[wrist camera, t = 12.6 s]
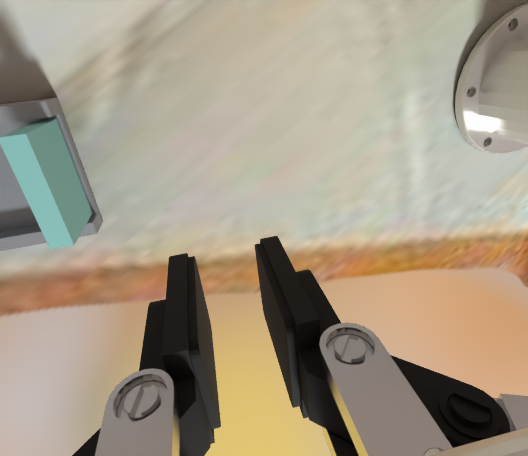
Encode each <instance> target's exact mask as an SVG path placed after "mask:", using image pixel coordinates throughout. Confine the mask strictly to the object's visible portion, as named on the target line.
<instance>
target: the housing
mask: <svg viewBox="0 0 528 456" xmlns="http://www.w3.org/2000/svg"><path fill="white" fill-rule="evenodd" d="M52 119H57V121H58V124H59V127H60V129H61V132H62V135H63V137H64V140H65V142H66V145H67V148H68V150H69V153H70V156H71V158H72V161H73V163H74V166H75V169H76V171H77V174H78V177H79V179H80V182H81V184H82V187H83V190H84V192H85V195H86V198H87V200H88V203H89V205H90V208H91V211H92V215H91V217H90V218H89V220H88V222H87V224H86V225H85V227H84V229H83V230H82V232H81V234H80V235H79V237H81V236H87V235H93V234H97V232H98V230H99V228H100V226H101V224H102V222H103V220H102V217H101V214H100V212H99V209H98V206H97V204H96V201H95V198H94V195H93V193H92V190H91V187H90V185H89V182H88V179H87V177H86V174H85V171H84V168H83V166H82V163H81V160H80V158H79V155H78V152H77V149H76V147H75V144H74V141H73V139H72V136H71V133H70V130H69V128H68V125H67V122H66V120H65V117H64V114H63V111H62V109H61V106H60V103H59V101H58V98H57V97H55V98H47V99H38V100H30V101H22V102H14V103H6V104H0V136H2V135H5V134H7V133H9V132H12V131H14V130H16V129H18V128H21V127H23V126H25V125H28V124H30V123H32V122H36V121H44V120H52ZM42 243H47V241H46V239H45V237H44V235H43V233H42V231H41V229H40V227H39V225H38V223H37V220H36V218H35V216H34V214H33V212H32V210H31V208H30V206H29V204H28V201H27V199H26V197H25V195H24V193H23V191H22V189H21V187H20V185H19V183H18V180H17V178H16V176H15V174H14V172H13V170H12V168H11V166H10V164H9V161H8V159H7V157H6V155H5V153H4V151H3V149H2V147H1V145H0V251H3V250H9V249H14V248H20V247H25V246H31V245H37V244H42Z"/></svg>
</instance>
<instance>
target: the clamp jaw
mask: <svg viewBox="0 0 528 456" xmlns="http://www.w3.org/2000/svg"><path fill="white" fill-rule="evenodd" d="M0 145H1V147H2V149H3V151H4V153H5V155H6V157H7V159H8V161H9V164H10V166H11V168H12V170H13V172H14V174H15V176H16V178H17V180H18V183H19V185H20V187H21V189H22V191H23V193H24V195H25V197H26V199H27V201H28V204H29V206H30V208H31V210H32V212H33V214H34V216H35V218H36V220H37V223H38V225H39V227H40V229H41V231H42V233H43V235H44V237H45V239H46V241H47V244H48V246H49V248H50V249H55V248H60V247H66V246H71V245H74V244H75V242H76V241H77V239H78V237H79V235H80V234H81V232H82V230H83V229H84V227H85V225H86V224H87V222H88V220H89V218H90V217H91V215H92V211H91V208H90V205H89V203H88V200H87V198H86V195H85V192H84V190H83V187H82V184H81V182H80V179H79V177H78V174H77V171H76V169H75V166H74V163H73V161H72V158H71V156H70V153H69V150H68V148H67V145H66V142H65V140H64V137H63V135H62V132H61V129H60V127H59V124H58V121H57V119H52V120H44V121H36V122H32V123H30V124H28V125H25V126H23V127H21V128H18V129H16V130H14V131H12V132H9V133H7V134H5V135H2V136H0Z"/></svg>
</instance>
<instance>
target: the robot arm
mask: <svg viewBox="0 0 528 456" xmlns="http://www.w3.org/2000/svg"><path fill="white" fill-rule="evenodd" d="M455 113H456V120H457V124H458V127H459V129H460V132H461V134H462V135H463V137H464V138H465V140H466V141H467V142H469V143H470V144H471V145H472V146H473V147H475V148H478V149H480V150H482V151H486V152H489V153H493V154H506V153H511V152H515V151H518V150H521V149H523V148H526V147H527V146H528V3H526V4H523V5H520V6H518V7H516V8H514V9H513V10H511V11H509V12H508V13H506V14H504V15H503V16H502V17H501V18H500V19H498V20H497V21H496V22H495V23H494V24H492V26H491V27H490V28H489V29H488V30H487V31H486V32H485V33H484V34H483V35H482V37H481V38H480V39H479V41H478V42H477V44H476V45H475V47H474V48H473V50H472V51H471V53H470V55H469V57H468V59H467V61H466V63H465V65H464V67H463V70H462V73H461V75H460V78H459V81H458V86H457V91H456V96H455ZM255 251H256V259H257V267H258V274H259V282H260V289H261V297H262V304H263V311H264V316H265V319H266V322H267V326H268V329H269V332H270V336H271V339H272V342H273V345H274V349H275V352H276V355H277V358H278V362H279V365H280V368H281V372H282V375H283V378H284V381H285V384H286V387H287V391H288V394H289V398H290V401H291V404H292V406H293V407H298V406H300V409H301V412H302V415H303V418H307V417H309V420H311V421H313V422H314V423H316V424H318V425H320V426H322V429H323V433H324V436H325V439H326V442H327V444H328V447H329V450H330V453H331V455H332V456H528V396H519V395H509V394H500V395H499V397H498V398H492V397H490V396H489V395H488V394H487V393H485V392H484V391H482V390H480V389H478V388H476V387H474V386H472V385H469V384H466V383H464V382H461V381H458V380H456V379H453V378H450V377H448V376H445V375H442V374H440V373H437V372H434V371H431V370H429V369H426V368H424V367H421V366H418V365H415V364H413V363H410V362H407V361H405V360H402V359H399V358H397V357H394V356H391V355H389V353H388V352H387V350H386V349H385V347H384V346H383V344H382V343H381V341H380V340H379V338H378V337H377V336H376V335H375V334H374V333H373V332H372V331H371V330H369V329H367V328H366V327H364V326H361V325H358V324H354V323H341V322H340V320H339V318H338V317H337V315H336V314H335V312H334V310H333V308H332V306H331V305H330V303H329V301H328V300H327V298H326V296H325V295H324V293H323V291H322V289H321V288H320V286H319V284H318V283H317V281H316V279H315V277H314V276H313V274H312V272H311V271H310V270H303V271H298V272H295V270H294V268H293V266H292V264H291V262H290V260H289V258H288V256H287V254H286V252H285V250H284V248H283V246H282V244H281V242H280V240H279V238H278V237H277V236H274V237H268V238H263V239H260V244H255ZM219 427H221V422H220V412H219V402H218V392H217V381H216V371H215V361H214V351H213V341H212V330H211V324H210V319H209V314H208V310H207V306H206V302H205V297H204V293H203V289H202V285H201V280H200V276H199V272H198V268H197V263H196V259H195V256H194V257H188V254H187V253H185V254H180V255H175V256H170V257H169V266H168V278H167V291H166V299H165V300H160V301H155V302H151V303H150V304H149V307H148V313H147V320H146V327H145V334H144V340H143V348H142V354H141V361H140V368H139V371H138V372H135V373H133V374H132V375H130V376H129V377H127V378H125V379H124V380H123V381H122V382H120V383H119V384H118V385H117V386H116V387H115V389H114V390H113V391H112V393H111V394H110V396H109V399H108V401H107V404H106V408H105V412H104V417H103V421H102V426H101V428H100V429H99V430H98V431H97V432H96V433H95V434H94V435H93V436H92V437H91V438H90V439H89V440H88V441H87V442H86V443H85V444H84V445H83V446H82V447H81V448H80V449H79V450H78V451H76V453H74V455H72V456H204V455H205V454H206V452H207V451H208V450H209V448H210V444H211V443H214V442H215V441H214V429H215V428H219Z"/></svg>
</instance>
